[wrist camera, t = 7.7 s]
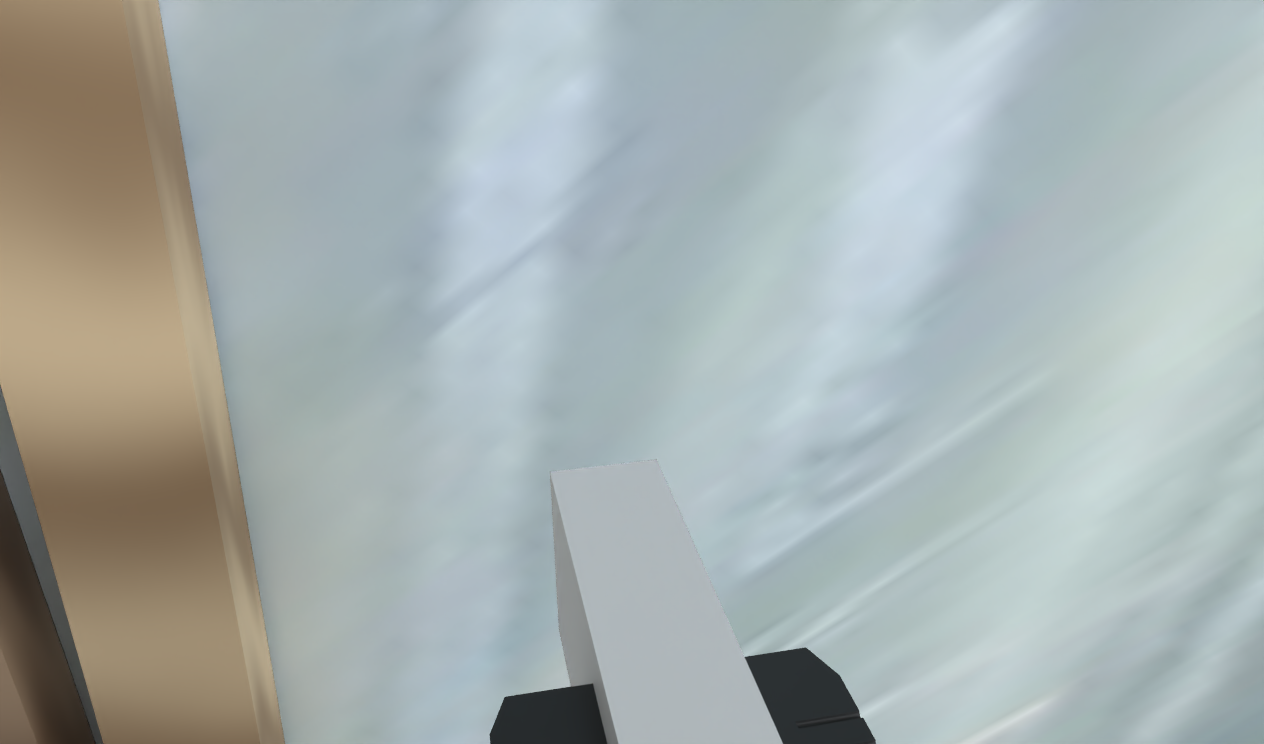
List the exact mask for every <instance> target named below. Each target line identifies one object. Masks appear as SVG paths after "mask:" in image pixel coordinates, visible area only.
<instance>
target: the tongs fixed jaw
mask: <svg viewBox="0 0 1264 744" xmlns="http://www.w3.org/2000/svg"><path fill="white" fill-rule="evenodd" d="M0 744H95V741H94V738H93V736H92V733H91V730H90V727H89V724H88V721H87V718H86V715H85V713H84V710H83V707H82V704H81V701H80V698H79V695H78V692H77V690H76V687H75V684H74V681H73V678H72V675H71V672H70V669H69V667H68V664H67V661H66V658H65V655H64V652H63V649H62V646H61V644H60V641H59V638H58V635H57V632H56V629H55V626H54V623H53V621H52V618H51V615H50V612H49V609H48V606H47V603H46V600H45V598H44V595H43V592H42V589H41V586H40V583H39V580H38V577H37V575H36V572H35V569H34V566H33V563H32V560H31V557H30V555H29V552H28V549H27V546H26V543H25V540H24V537H23V534H22V532H21V529H20V526H19V523H18V520H17V517H16V514H15V511H14V509H13V506H12V503H11V500H10V497H9V494H8V491H7V488H6V486H5V483H4V480H3V477H2V474H1V471H0Z"/></svg>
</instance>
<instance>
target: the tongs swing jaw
mask: <svg viewBox="0 0 1264 744" xmlns="http://www.w3.org/2000/svg"><path fill="white" fill-rule="evenodd" d="M0 385H1V389H2V392H3V395H4V399H5V402H6V406H7V409H8V413H9V416H10V420H11V423H12V427H13V430H14V434H15V437H16V441H17V444H18V448H19V451H20V455H21V458H22V462H23V465H24V469H25V472H26V476H27V479H28V483H29V486H30V490H31V493H32V497H33V500H34V504H35V507H36V511H37V514H38V517H39V521H40V524H41V528H42V531H43V535H44V538H45V542H46V545H47V549H48V552H49V556H50V559H51V563H52V566H53V570H54V573H55V577H56V580H57V584H58V587H59V591H60V594H61V598H62V601H63V605H64V608H65V612H66V615H67V619H68V622H69V626H70V629H71V633H72V636H73V640H74V643H75V646H76V650H77V653H78V657H79V660H80V664H81V667H82V671H83V674H84V678H85V681H86V685H87V688H88V692H89V695H90V699H91V702H92V706H93V709H94V713H95V716H96V720H97V723H98V727H99V730H100V734H101V737H102V741H103V744H285V741H284V735H283V729H282V723H281V717H280V711H279V705H278V700H277V694H276V688H275V682H274V676H273V670H272V664H271V659H270V653H269V647H268V641H267V635H266V629H265V623H264V618H263V612H262V606H261V600H260V594H259V588H258V583H257V577H256V571H255V565H254V559H253V553H252V547H251V542H250V536H249V530H248V524H247V518H246V512H245V506H244V501H243V495H242V489H241V483H240V477H239V471H238V465H237V460H236V454H235V448H234V442H233V436H232V430H231V425H230V419H229V413H228V407H227V401H226V395H225V389H224V384H223V378H222V372H221V366H220V360H219V354H218V348H217V343H216V337H215V331H214V325H213V319H212V313H211V307H210V302H209V296H208V290H207V284H206V278H205V272H204V267H203V261H202V255H201V249H200V243H199V237H198V231H197V226H196V220H195V214H194V208H193V202H192V196H191V190H190V185H189V179H188V173H187V167H186V161H185V155H184V149H183V144H182V138H181V132H180V126H179V120H178V114H177V109H176V103H175V97H174V91H173V85H172V79H171V73H170V68H169V62H168V56H167V50H166V44H165V38H164V32H163V27H162V21H161V15H160V9H159V3H158V0H0Z"/></svg>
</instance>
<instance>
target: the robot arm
mask: <svg viewBox="0 0 1264 744" xmlns="http://www.w3.org/2000/svg"><path fill="white" fill-rule="evenodd" d="M550 479H551V497H552V515H553V533H554V551H555V569H556V587H557V605H558V623H559V632H560V637H561V641H562V646H563V651H564V656H565V660H566V665H567V670H568V675H569V679H570V684H571V687H566V688H560V689H553V690H547V691H540V692H534V693H527V694H521V695H515V696H508V697H505V698H504V700H503V703H502V705H501V708H500V710H499V713H498V715H497V718H496V720H495V723H494V725H493V728H492V730H491V733H490V743H491V744H876V742H875V738H874V737H873V735H872V733H871V731H870V729H869V728H868V726H867V724H866V722H865V720H864V719H863V718H861V717H860V714H859V710H858V708H857V706H856V704H855V702H854V701H853V699H852V697H851V695H850V693H849V691H848V690H847V688H846V686H845V684H844V682H843V681H842V679H841V677H840V675H838V674H837V673H836V672H835V671H834V670H832V669H831V668H830V667H829V666H828V665H826V664H825V663H824V662H823V661H822V660H820V659H819V658H818V657H817V656H815V655H814V654H813V653H812V652H811V651H809V650H808V649H807V648H800V649H794V650H787V651H781V652H774V653H768V654H761V655H755V656H748V657H744V655H743V653H742V650H741V648H740V646H739V644H738V641H737V639H736V637H735V635H734V632H733V630H732V628H731V626H730V623H729V621H728V619H727V617H726V614H725V612H724V610H723V608H722V605H721V603H720V601H719V598H718V596H717V594H716V592H715V589H714V587H713V585H712V583H711V580H710V578H709V576H708V574H707V571H706V569H705V567H704V565H703V562H702V560H701V558H700V556H699V553H698V551H697V549H696V547H695V544H694V542H693V540H692V538H691V535H690V533H689V531H688V529H687V526H686V524H685V522H684V520H683V517H682V515H681V513H680V511H679V508H678V506H677V504H676V502H675V499H674V497H673V495H672V493H671V490H670V488H669V486H668V484H667V481H666V479H665V477H664V475H663V472H662V470H661V468H660V466H659V463H658V461H657V459H655V460H646V461H638V462H629V463H621V464H612V465H603V466H595V467H586V468H578V469H569V470H561V471H552V472H550Z"/></svg>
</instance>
